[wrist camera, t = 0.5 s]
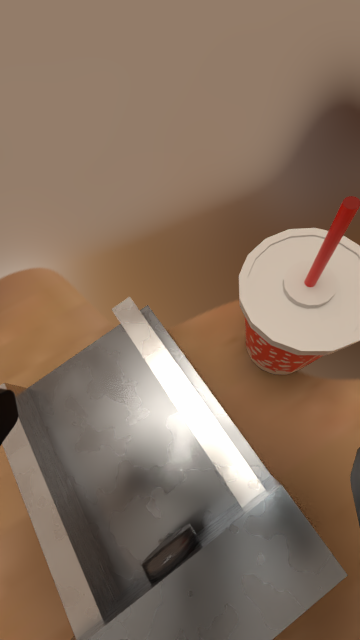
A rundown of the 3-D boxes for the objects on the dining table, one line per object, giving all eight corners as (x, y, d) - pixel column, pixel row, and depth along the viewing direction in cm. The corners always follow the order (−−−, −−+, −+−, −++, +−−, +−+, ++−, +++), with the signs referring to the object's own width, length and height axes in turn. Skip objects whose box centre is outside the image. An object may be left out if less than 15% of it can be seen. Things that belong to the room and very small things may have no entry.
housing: (315, 537, 17) (347, 575, 13) (127, 693, 16) (86, 798, 11) (150, 310, 24) (131, 280, 19) (10, 407, 23) (-46, 400, 18)
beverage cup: (308, 296, 22) (415, 106, 9) (336, 377, 20) (531, 271, 7) (226, 313, 23) (223, 153, 10) (245, 393, 21) (273, 321, 8)
